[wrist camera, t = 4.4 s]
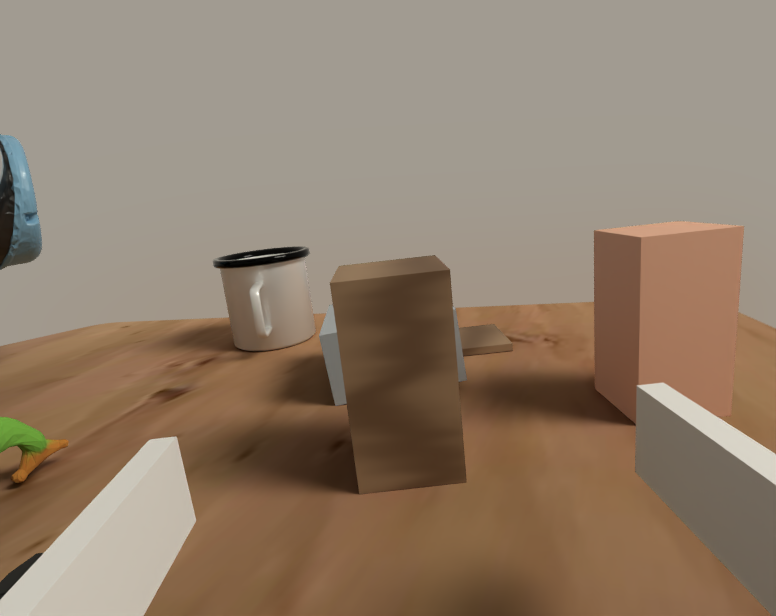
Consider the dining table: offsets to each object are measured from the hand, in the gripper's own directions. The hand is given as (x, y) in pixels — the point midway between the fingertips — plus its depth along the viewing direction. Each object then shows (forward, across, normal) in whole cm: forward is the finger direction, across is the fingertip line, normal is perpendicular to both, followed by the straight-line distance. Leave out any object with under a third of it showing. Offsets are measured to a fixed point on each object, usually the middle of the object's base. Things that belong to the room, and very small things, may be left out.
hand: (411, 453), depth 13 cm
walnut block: (+10, 0, -6) cm, 11 cm away
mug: (+34, -12, -6) cm, 37 cm away
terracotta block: (+13, +15, -6) cm, 21 cm away
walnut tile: (+27, +6, -6) cm, 28 cm away
